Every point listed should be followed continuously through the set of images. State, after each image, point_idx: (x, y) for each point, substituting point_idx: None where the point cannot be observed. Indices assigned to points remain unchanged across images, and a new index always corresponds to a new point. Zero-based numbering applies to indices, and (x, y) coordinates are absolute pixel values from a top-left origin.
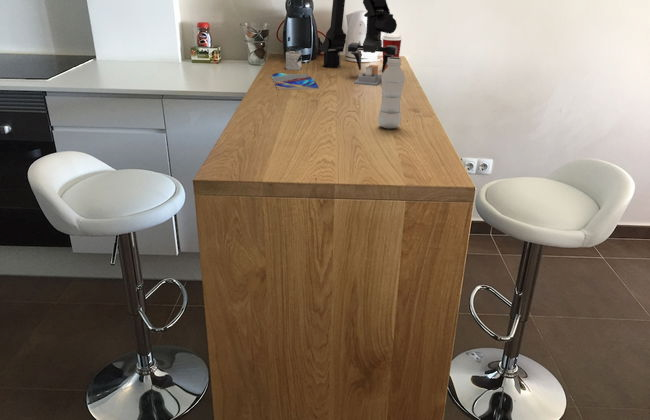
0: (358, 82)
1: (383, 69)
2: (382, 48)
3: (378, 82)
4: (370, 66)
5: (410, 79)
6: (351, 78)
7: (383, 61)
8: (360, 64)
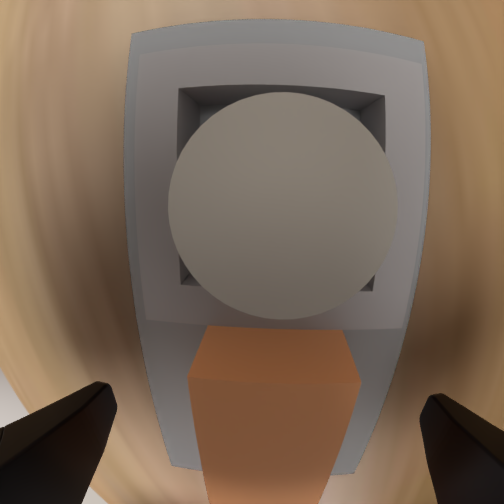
0: (371, 30)
1: (73, 396)
2: None
3: (124, 117)
4: (294, 491)
5: (17, 392)
6: (468, 305)
7: (2, 467)
8: (453, 460)
